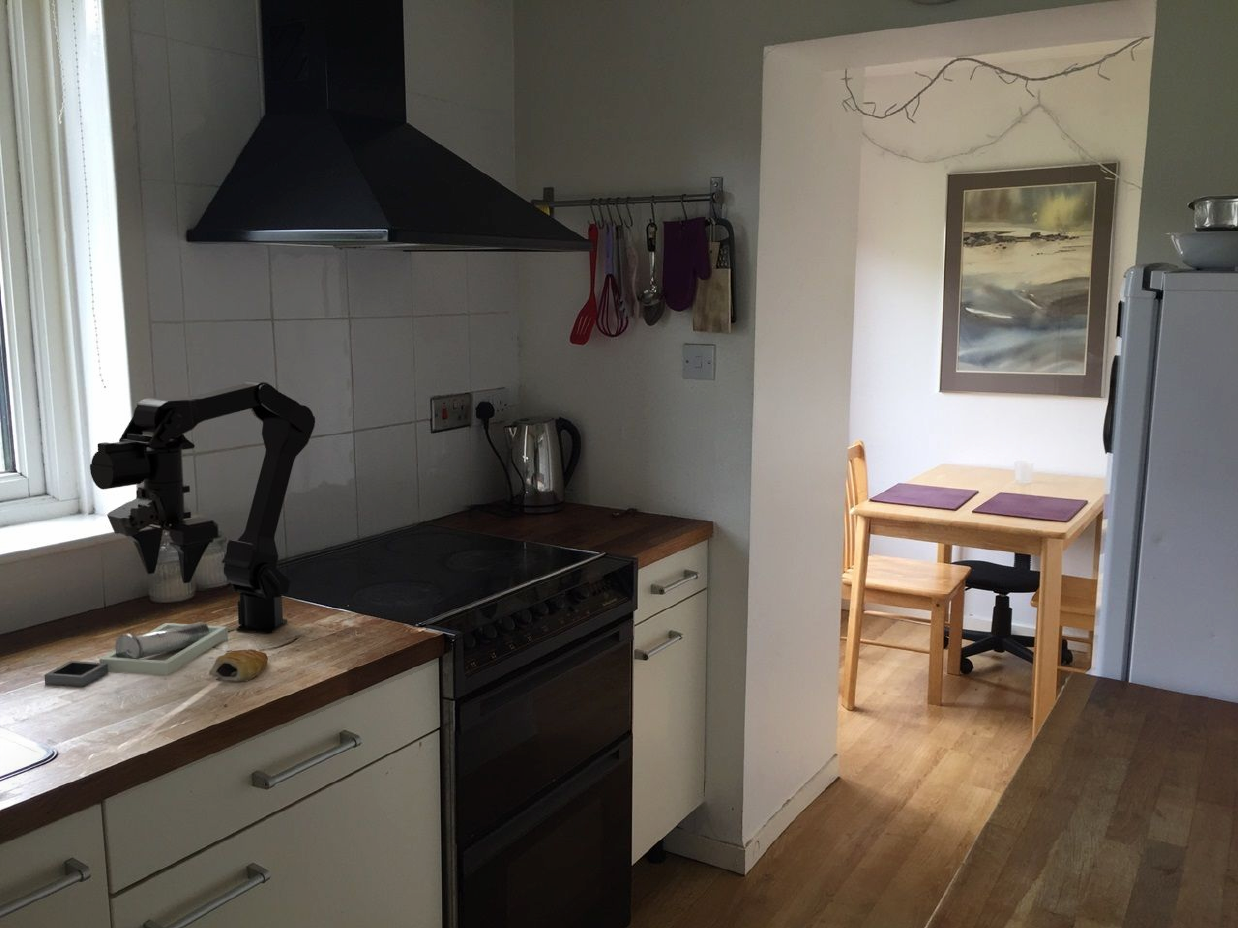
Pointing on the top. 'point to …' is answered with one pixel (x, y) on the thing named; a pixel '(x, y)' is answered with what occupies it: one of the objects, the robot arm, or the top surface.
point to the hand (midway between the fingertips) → (168, 578)
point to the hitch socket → (76, 674)
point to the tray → (173, 662)
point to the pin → (159, 641)
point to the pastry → (239, 665)
